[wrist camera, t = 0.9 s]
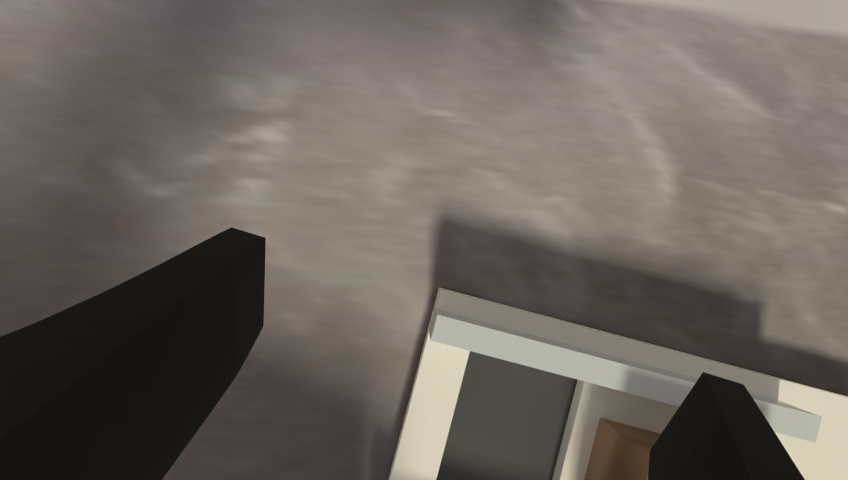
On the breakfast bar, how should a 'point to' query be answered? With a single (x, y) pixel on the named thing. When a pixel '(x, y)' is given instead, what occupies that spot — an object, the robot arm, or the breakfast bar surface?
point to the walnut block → (620, 452)
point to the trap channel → (572, 397)
